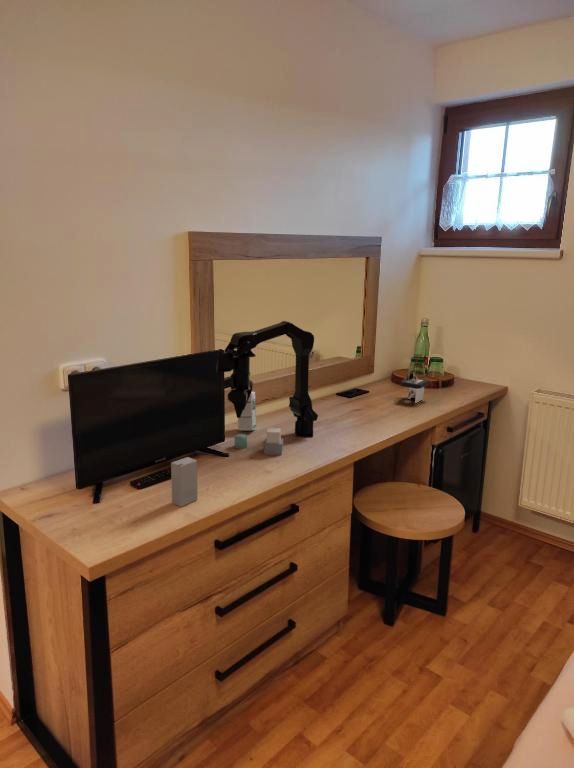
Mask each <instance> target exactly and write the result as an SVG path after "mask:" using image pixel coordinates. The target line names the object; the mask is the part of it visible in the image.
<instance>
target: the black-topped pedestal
mask: <svg viewBox="0 0 574 768" xmlns="http://www.w3.org/2000/svg"><path fill="white" fill-rule="evenodd" d="M428 385H430V379H426V378H419V377H418V376H415V372H414V371H413V372H411V373H408V374H406V375H405V378H404V379H402V380H401V383H400V387H404V388H408V396H407V397H409V398H407V400H408V399H410V400H412V399H411V398H415V399H414V400H415V401H414V404H415V403H417V402H419V401H420V400H422V399H423V400H424V394H425V393H424V391H425V387H427V386H428ZM419 403H420V402H419ZM417 404H418V403H417Z"/></svg>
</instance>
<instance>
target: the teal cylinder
mask: <svg viewBox="0 0 574 768" xmlns="http://www.w3.org/2000/svg"><path fill="white" fill-rule="evenodd" d="M234 448H235V449H237V450H238V449H239V450H243V449H244V450H245V449H247V448H248V435H246V434H244V433H237V434H235V435H234Z"/></svg>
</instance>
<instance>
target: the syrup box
mask: <svg viewBox="0 0 574 768" xmlns="http://www.w3.org/2000/svg"><path fill="white" fill-rule="evenodd" d="M256 408H257V405H256V391H254V390H252V392H251V395H250V397H249V400H248V402H247V404H246V407H245V409H244V410H243V412H242V414H241V417H240V418H237V425H238V427H237V429H238V431H253V430H256V429H257V414H256V413H257V411H256V410H257V409H256Z"/></svg>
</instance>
